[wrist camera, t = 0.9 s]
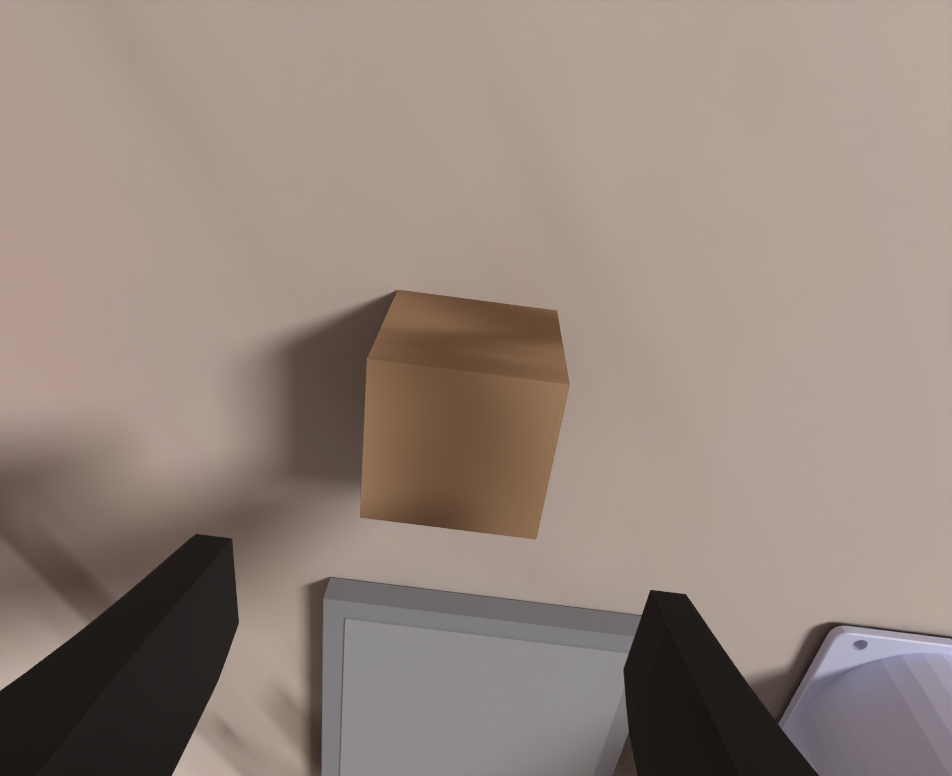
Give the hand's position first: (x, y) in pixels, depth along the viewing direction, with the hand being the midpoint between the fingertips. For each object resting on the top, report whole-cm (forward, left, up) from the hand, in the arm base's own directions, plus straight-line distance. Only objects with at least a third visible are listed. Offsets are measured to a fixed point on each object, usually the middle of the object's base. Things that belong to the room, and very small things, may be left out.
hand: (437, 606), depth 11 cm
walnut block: (0, 0, -9) cm, 9 cm away
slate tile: (-2, +15, -9) cm, 18 cm away
